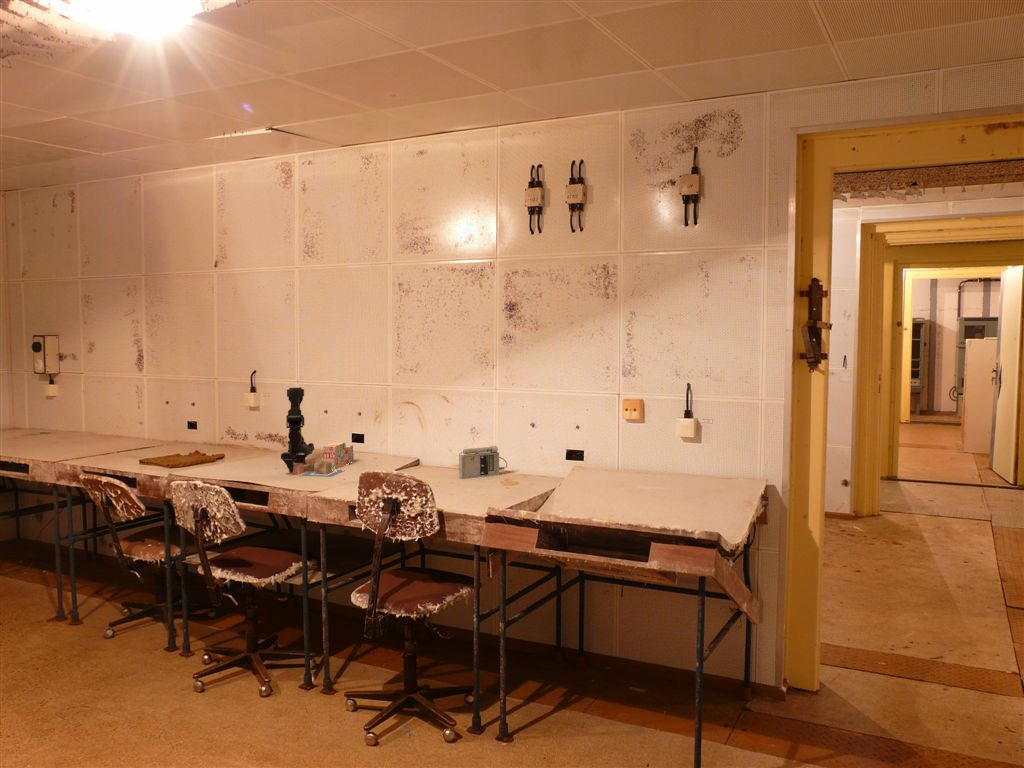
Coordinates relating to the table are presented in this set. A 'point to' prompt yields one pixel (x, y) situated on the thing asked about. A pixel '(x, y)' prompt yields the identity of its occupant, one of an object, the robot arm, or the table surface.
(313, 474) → the board
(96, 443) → the table surface
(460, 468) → the geiger counter
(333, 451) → the stack of blocks
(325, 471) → the walnut base block
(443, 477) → the table surface
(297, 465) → the terracotta cube
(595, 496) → the table surface
